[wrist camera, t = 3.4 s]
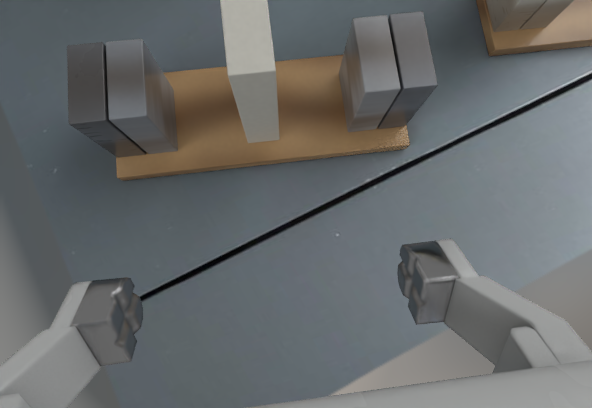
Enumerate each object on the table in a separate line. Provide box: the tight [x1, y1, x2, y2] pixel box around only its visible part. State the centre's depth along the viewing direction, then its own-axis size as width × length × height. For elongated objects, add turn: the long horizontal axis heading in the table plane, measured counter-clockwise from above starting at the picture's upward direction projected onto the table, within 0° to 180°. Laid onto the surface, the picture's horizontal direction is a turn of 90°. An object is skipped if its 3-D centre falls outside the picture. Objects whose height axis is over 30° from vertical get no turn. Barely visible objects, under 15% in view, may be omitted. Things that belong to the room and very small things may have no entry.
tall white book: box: [220, 0, 280, 143], centre depth 24 cm, size 5×2×10 cm, turn 7°
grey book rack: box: [67, 11, 438, 181], centre depth 26 cm, size 8×22×8 cm, turn 97°
